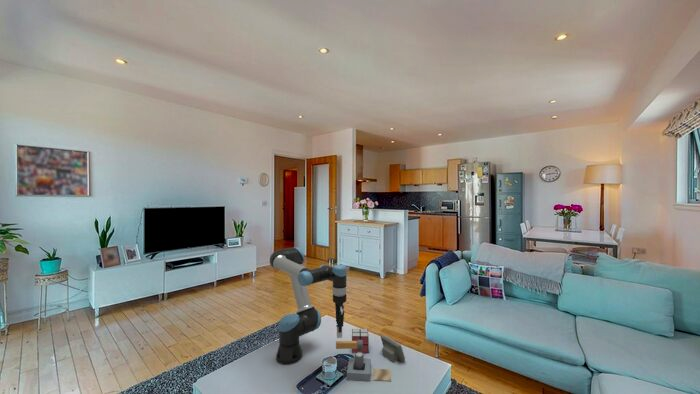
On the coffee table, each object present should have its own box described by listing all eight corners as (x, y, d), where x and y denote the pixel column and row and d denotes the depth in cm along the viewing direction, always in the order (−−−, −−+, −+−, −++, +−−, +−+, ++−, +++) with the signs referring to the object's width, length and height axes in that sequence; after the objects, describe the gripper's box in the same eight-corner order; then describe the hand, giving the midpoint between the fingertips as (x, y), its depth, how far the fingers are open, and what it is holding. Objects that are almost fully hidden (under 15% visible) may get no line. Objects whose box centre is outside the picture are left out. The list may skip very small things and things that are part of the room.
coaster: (373, 380, 139) (373, 379, 139) (373, 369, 148) (373, 368, 148) (390, 381, 138) (390, 380, 138) (390, 370, 147) (390, 369, 147)
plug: (354, 375, 143) (354, 356, 143) (355, 369, 148) (355, 351, 148) (363, 376, 143) (363, 356, 143) (363, 370, 148) (363, 351, 148)
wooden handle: (336, 346, 153) (336, 340, 153) (362, 345, 153) (362, 339, 153) (335, 349, 149) (335, 343, 149) (363, 348, 150) (363, 342, 150)
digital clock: (406, 362, 155) (406, 343, 155) (393, 366, 151) (392, 347, 151) (390, 348, 170) (390, 331, 170) (378, 351, 166) (378, 334, 166)
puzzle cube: (368, 353, 164) (368, 336, 164) (352, 353, 165) (351, 336, 165) (367, 344, 174) (367, 328, 174) (352, 344, 175) (352, 328, 175)
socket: (346, 379, 140) (346, 359, 140) (349, 363, 154) (349, 345, 154) (370, 381, 139) (370, 360, 139) (370, 365, 152) (370, 346, 152)
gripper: (349, 297, 143) (349, 342, 143) (343, 289, 156) (343, 330, 156) (335, 299, 142) (335, 344, 142) (330, 290, 154) (330, 332, 154)
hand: (339, 337), depth 149 cm, fingers closed
